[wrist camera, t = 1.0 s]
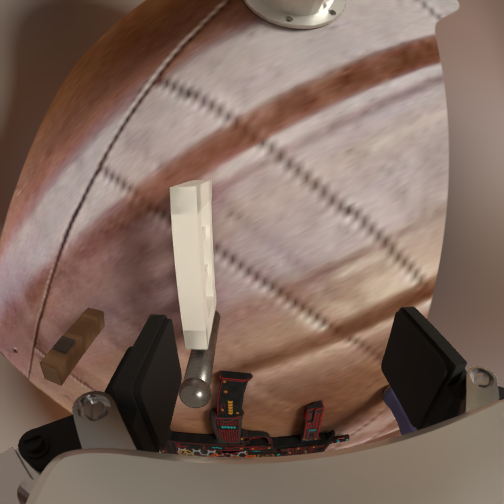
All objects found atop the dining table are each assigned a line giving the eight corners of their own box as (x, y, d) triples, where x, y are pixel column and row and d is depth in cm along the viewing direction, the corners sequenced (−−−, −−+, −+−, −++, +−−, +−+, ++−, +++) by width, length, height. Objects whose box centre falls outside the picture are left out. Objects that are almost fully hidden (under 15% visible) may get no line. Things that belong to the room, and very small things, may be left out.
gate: (211, 179, 28) (196, 186, 20) (216, 308, 33) (208, 355, 24) (192, 180, 28) (169, 187, 20) (200, 308, 33) (186, 354, 24)
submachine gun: (375, 370, 35) (343, 462, 41) (366, 356, 39) (339, 449, 45) (131, 375, 34) (166, 467, 41) (139, 361, 38) (169, 453, 44)
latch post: (88, 305, 34) (38, 359, 21) (103, 309, 34) (55, 367, 22) (90, 322, 35) (45, 378, 22) (104, 326, 35) (61, 385, 22)
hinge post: (200, 305, 34) (176, 390, 20) (223, 309, 34) (210, 396, 20) (198, 324, 35) (176, 411, 21) (220, 328, 35) (208, 416, 21)
